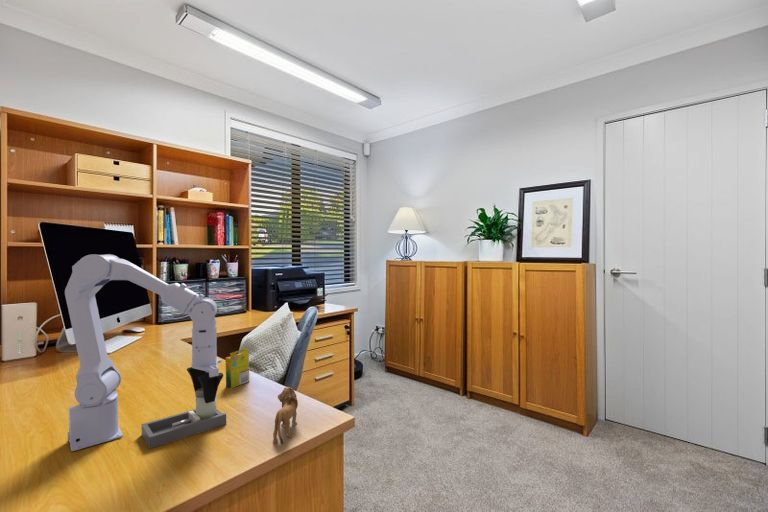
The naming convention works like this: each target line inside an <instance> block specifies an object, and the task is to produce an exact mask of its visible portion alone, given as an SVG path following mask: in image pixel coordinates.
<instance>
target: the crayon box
mask: <svg viewBox="0 0 768 512" xmlns="http://www.w3.org/2000/svg"><path fill="white" fill-rule="evenodd" d="M224 360H225V387H226V388H229V389H233V388H235V387H239V386H240V385H243V384H246V383H249V382H250V361H249V347H247V348H243V349H240V350H235V351H233V352H230V353H229V356H227V357H225V359H224Z"/></svg>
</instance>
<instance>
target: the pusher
mask: <svg viewBox="0 0 768 512" xmlns="http://www.w3.org/2000/svg"><path fill="white" fill-rule="evenodd" d="M191 410H192V411H191ZM191 410H188V411H189V412H188V418H189V419H186V420H182V421H179V422H175V423H172V428H173V427H177V426H180V425H183V424H187V423H190V422H191V423H193V422H196V421H199V420H200V417H199V416H198V415H197V414H196V413H195V412H194V411H193V410H194V409H191Z"/></svg>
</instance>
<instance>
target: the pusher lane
mask: <svg viewBox="0 0 768 512" xmlns="http://www.w3.org/2000/svg"><path fill="white" fill-rule="evenodd" d="M192 410H193V411H194V412H195V413H196V408H195V409H191V410H188V411H183V412H180V413H178V414H174V415H169V416H166V417H163V418H159V419H155V420H152V421H149V422H145V423H141V436H142V438H143V440H144V442H145V443H146V445H147V447H148V448H149V450H150V449H153V448H156V447H160V446H163V445H167V444H169V443H172V442H175V441H178V440H179V441H180V440H182V439H184V438H187V437H190V436H194V435H197V434H199V433H203V432H206V431H210V430H213V429H216V428H218V427H221V426H224V425H227V413H226V412H223V413H222V412H221V411H220V410H219V409H217V408H216V416H213V417H209V418H206V419H203V420H199V421H196V422H193V423H191V422H190V423H187V424H183V425H180V426H177V427H173V428H172V423H175V422H179V421H182V420H186V419H189V418H188V412H189V411H192Z"/></svg>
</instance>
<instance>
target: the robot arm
mask: <svg viewBox="0 0 768 512" xmlns="http://www.w3.org/2000/svg"><path fill="white" fill-rule="evenodd" d="M71 268H72V269H71V270H72V272H71V275H70V277H69V279H68V282H67V285H66V286H65V289H64V296H65V301H66V305H67V309H68V315H69V319H70V325H71V329H72V333H73V337H74V342H75V348H76V351H77V356H78V360H79V368H78V371H77V374H76V377H75V380H76V387H75V390H74V398H75V400H76V402H77V403H78V404H77V405H73V406H70V407H68V432H67V440H68V441H69V447H70V452H74V451H79V450H81V449H85V448H90V447H92V446H96V445H99V444H102V443H106V442H111V441H113V440H117V439H120V438H122V437H124V434H123V432H122V430H121V428H120V426H119V394H118V392H117V388H118V387H119V386H120V384H121V383H122V375H121V373H120V371H119V370H118V369H117V368H116V366H115V363H114V361H113V360H112V359H111V358H110V357H109V356H108V352H107V347H106V341H105V337H104V332H103V327H102V323H101V319H100V314H99V307H98V304H97V299H96V294H97V293H98V292H99V291H100V290H101V289H102V288H103V287H104V286H105V285H106V284H107V283H109V282H110V281H129V282H131V283H133V284H136V286H140V287H142V288H144V289H146V290H148V291H151V292H153V293H155V294H156V295H159V296H160V298H161V302H162V303H163V304H165V305H167V306H169V307H171V308H173V309H174V310H176V311H179V312H181V313H182V314H183V315H188V316H189V317H190V320H191V321H192V328H191V366H190V367H188V368H186V371H187V372H188V374H189V376H190V379H191V382H192V386H193V390H194V392H195V391H196V390H197V389H199V388H202V389H203V395H204V400H205V403H210V402H214V401H215V397H216V398H217V393H218V388H219V386H220V383H221V381H222V379H223V378H224V373H223V372H219V371H220V370H219V367H218V364H221V363H222V359H221V358H217V357H218V354H217V353H218V352H217V350H218V348H217V347H218V346H217V339H218V337H217V333H218V332H217V319H216V315H217V312H218V305H217V302H215V300H213V299H212V298H211V297H207V296H206V297H205V295H204V294H202V293H197V292H195V291H193V290H192V289H189V288H188V286H187V284H186V283H184V282H183V283H182V282H181V284H180V283H178V282H174V283H170V284H169V283H167V282H165V281H164V280H162V279H161V278H158V277H157V276H155V275H153V274H152V273H150V272H149V271H147V270H144V269H143V268H141V267H139V266H138V265H136V264H134V263H132V262H131V261H129V260H126V259H124V258H120V257H118V256H117V255H114V254H111V253H108V254H107V253H106V254H96V253H95V254H88V255H85V256H83V257H81V258H80V260H77V262H75V263H74V265H72V266H71Z"/></svg>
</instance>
